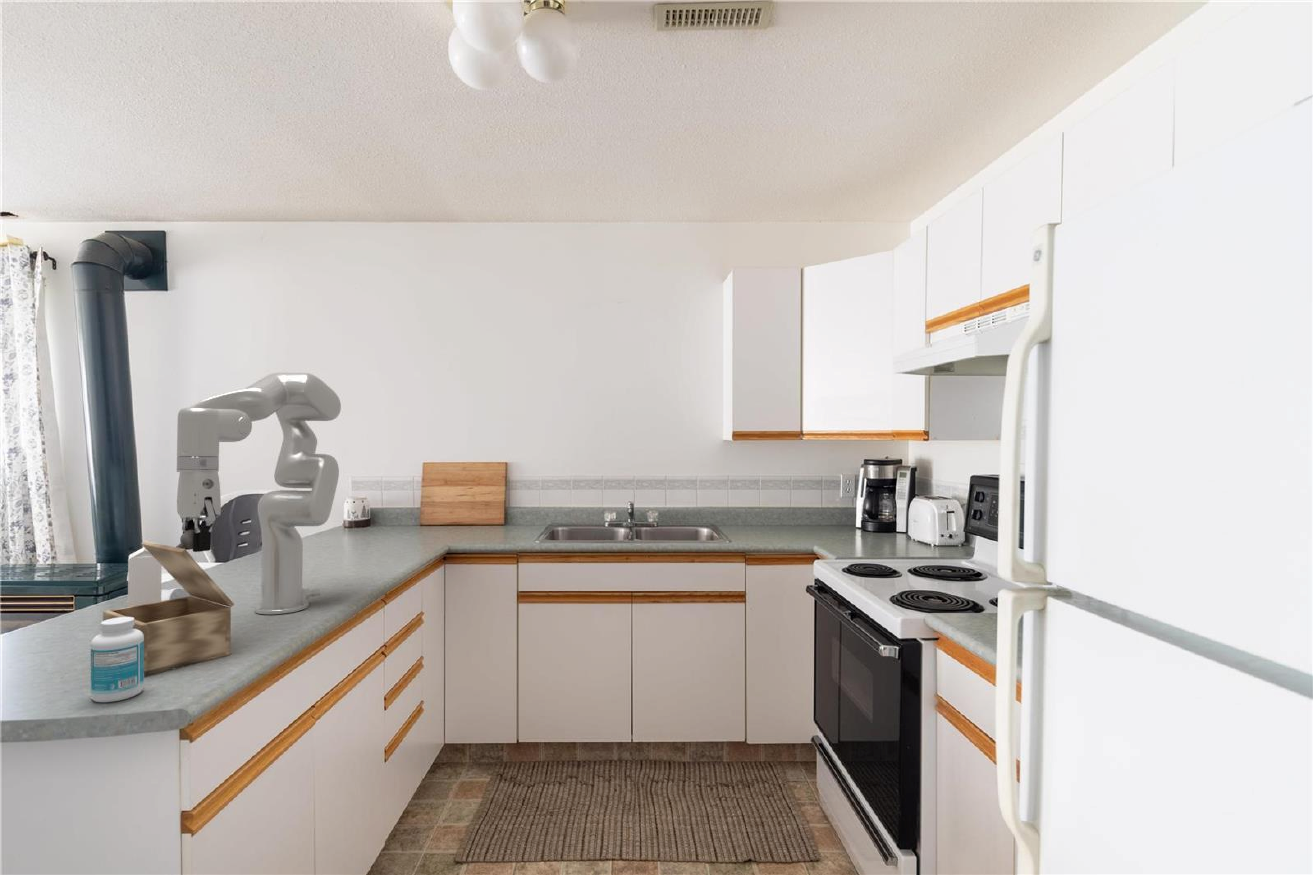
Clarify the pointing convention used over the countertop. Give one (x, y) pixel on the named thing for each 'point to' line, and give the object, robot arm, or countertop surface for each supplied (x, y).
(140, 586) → the milk
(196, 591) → the flap
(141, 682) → the pill bottle
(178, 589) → the spoon rest
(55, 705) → the countertop surface
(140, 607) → the wooden box
